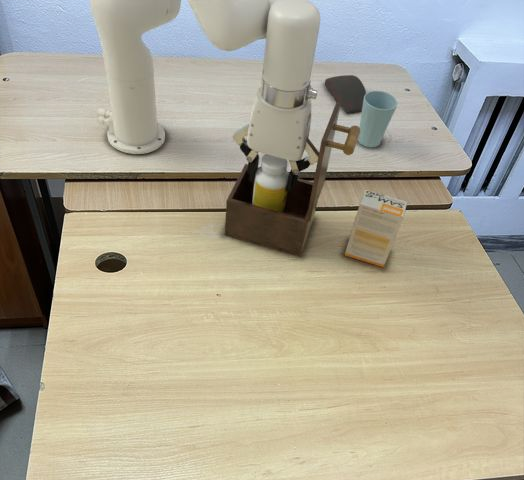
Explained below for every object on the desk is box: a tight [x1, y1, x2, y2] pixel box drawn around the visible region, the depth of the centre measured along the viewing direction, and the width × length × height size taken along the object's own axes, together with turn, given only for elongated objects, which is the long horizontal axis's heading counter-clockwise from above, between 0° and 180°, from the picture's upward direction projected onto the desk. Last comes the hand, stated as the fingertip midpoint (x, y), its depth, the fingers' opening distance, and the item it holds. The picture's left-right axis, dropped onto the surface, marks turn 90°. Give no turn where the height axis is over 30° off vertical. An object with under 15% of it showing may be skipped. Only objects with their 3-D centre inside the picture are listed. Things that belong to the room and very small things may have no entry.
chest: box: [224, 163, 319, 257], centre depth 105 cm, size 16×12×9 cm
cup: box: [357, 90, 399, 148], centre depth 124 cm, size 8×8×10 cm
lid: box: [306, 101, 360, 221], centre depth 93 cm, size 16×12×5 cm
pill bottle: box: [252, 154, 290, 213], centre depth 100 cm, size 6×6×12 cm
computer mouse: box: [324, 74, 367, 114], centre depth 137 cm, size 8×14×4 cm, turn 23°
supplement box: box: [344, 189, 408, 268], centre depth 101 cm, size 8×5×13 cm, turn 71°
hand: (271, 181), depth 99 cm, fingers closed on pill bottle, 6 cm apart
